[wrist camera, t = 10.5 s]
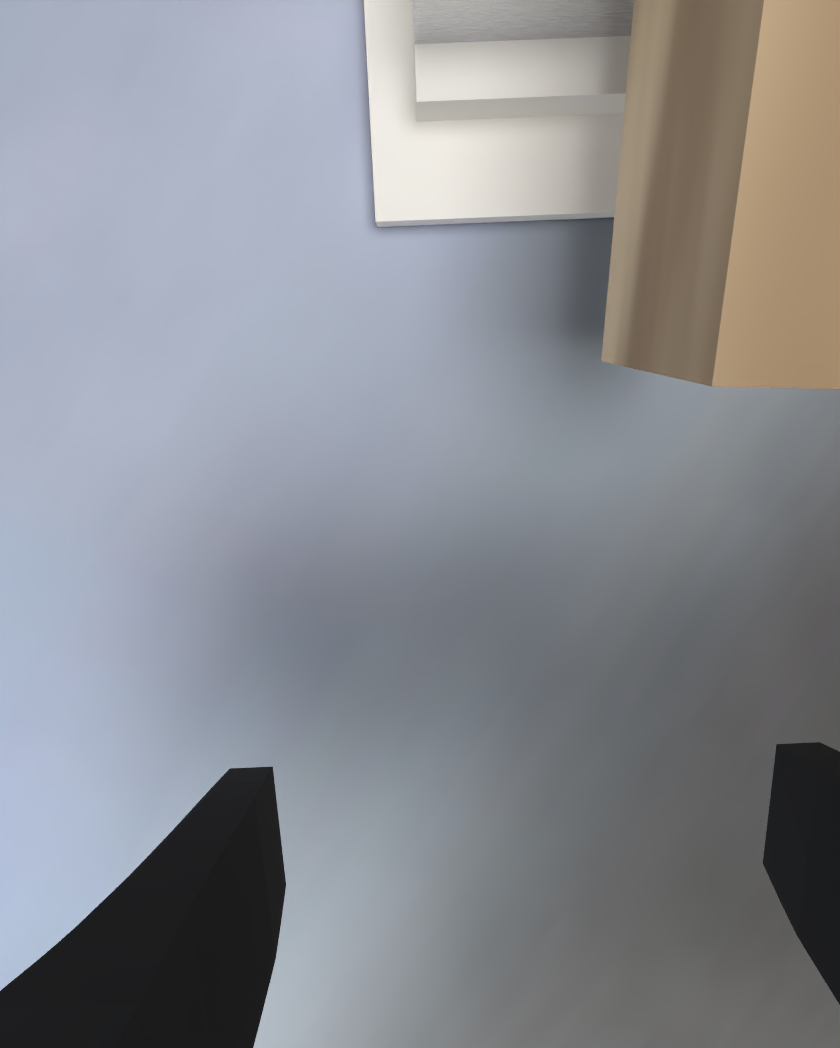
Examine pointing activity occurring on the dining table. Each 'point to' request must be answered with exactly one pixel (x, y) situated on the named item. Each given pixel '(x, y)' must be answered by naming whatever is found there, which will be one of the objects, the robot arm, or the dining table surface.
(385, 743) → the dining table surface
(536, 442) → the dining table surface
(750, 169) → the oak bar
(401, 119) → the ridge stand
